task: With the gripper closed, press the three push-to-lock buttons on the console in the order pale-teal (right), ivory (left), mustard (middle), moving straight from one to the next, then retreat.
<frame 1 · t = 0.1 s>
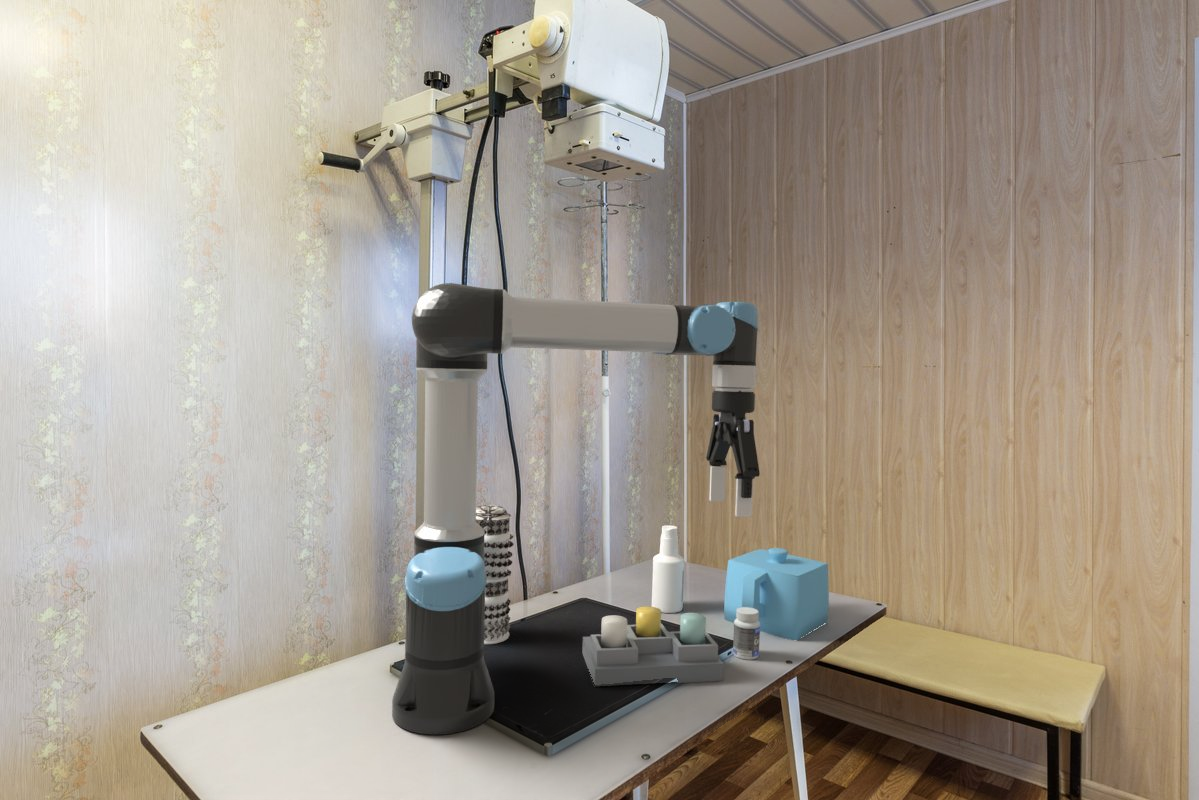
hand: (729, 508, 129), 28 cm above the table, fingers open, 13 cm apart
container: (777, 621, 151), on the table
decorative candle: (487, 636, 138), on the table
button ivory: (614, 631, 123), point 7 cm above the table, slide at 0.0 cm
console: (649, 666, 126), on the table
pill bottle: (745, 656, 132), on the table
button teal: (692, 628, 125), point 7 cm above the table, slide at 0.0 cm
button mustard: (648, 621, 128), point 7 cm above the table, slide at 0.0 cm
spray bottle: (667, 609, 157), on the table
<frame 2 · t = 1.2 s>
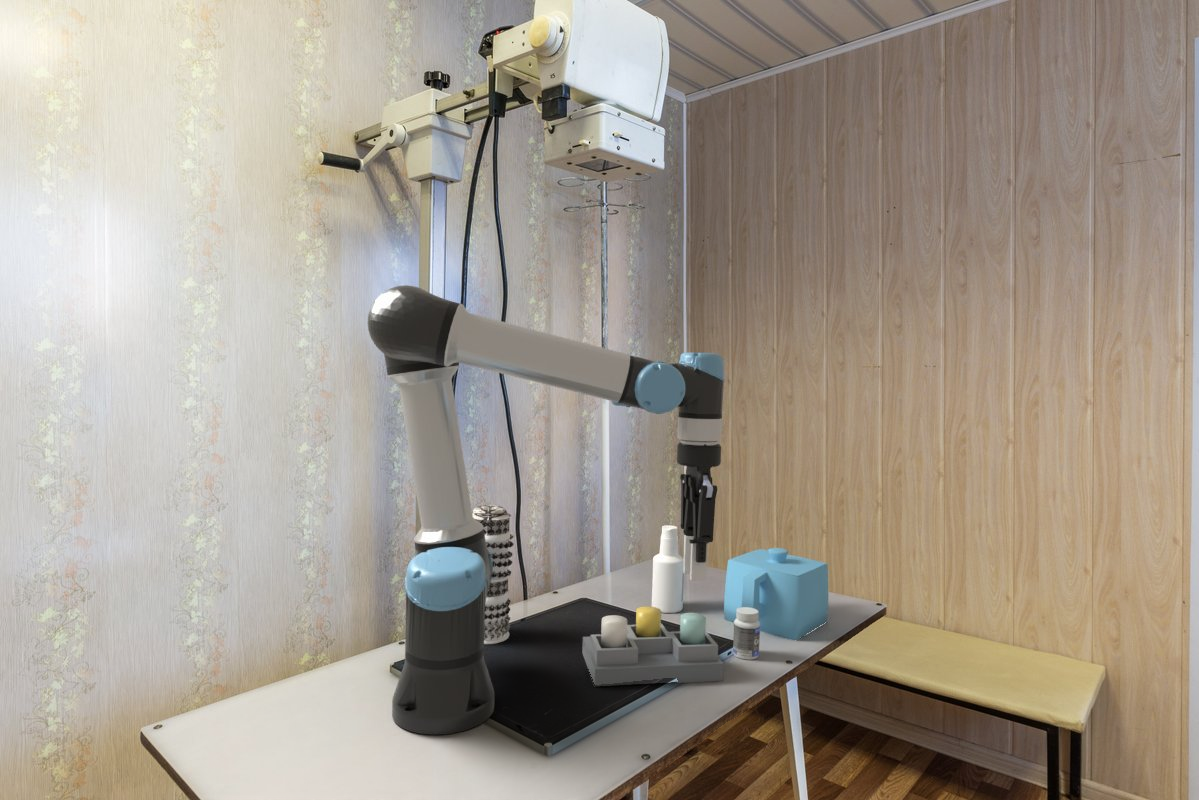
hand: (694, 576, 125), 17 cm above the table, fingers open, 3 cm apart
nothing on the table moved.
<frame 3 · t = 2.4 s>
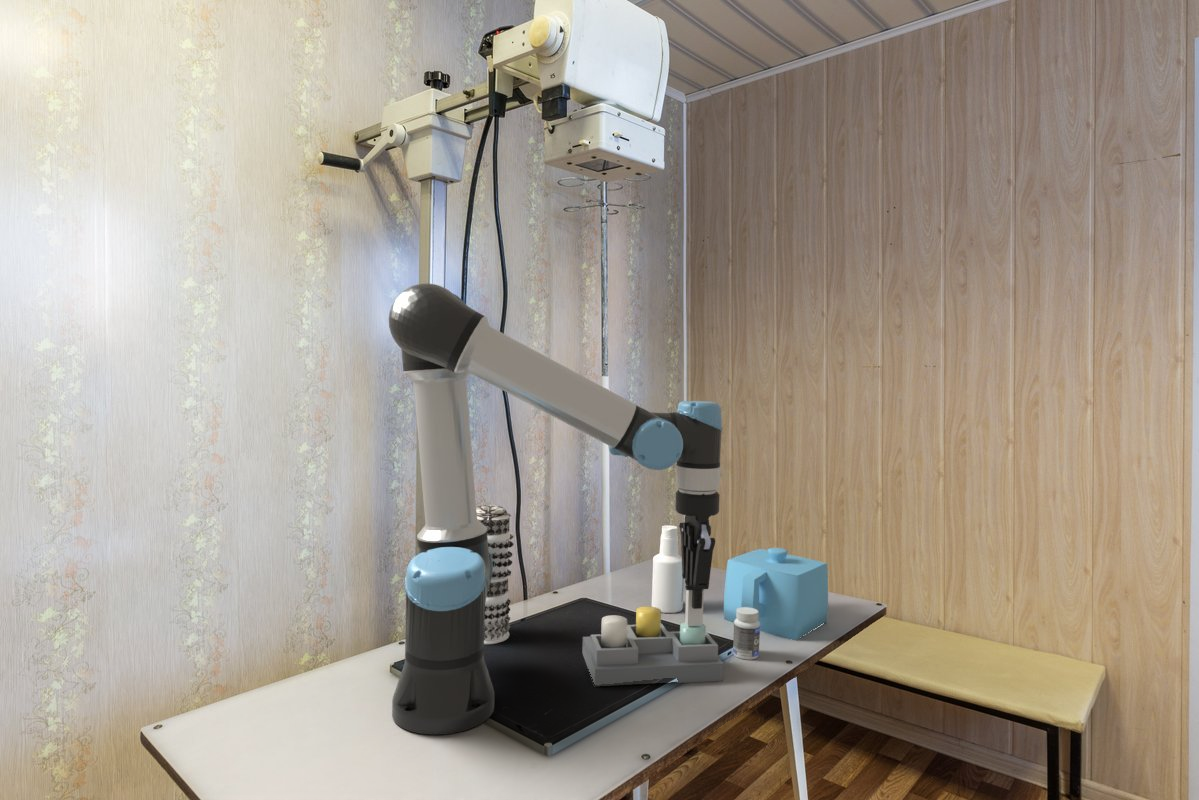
hand: (693, 624, 125), 8 cm above the table, fingers closed
button teal: (692, 637, 125), point 6 cm above the table, slide at 1.5 cm, touching gripper
everything else where it was.
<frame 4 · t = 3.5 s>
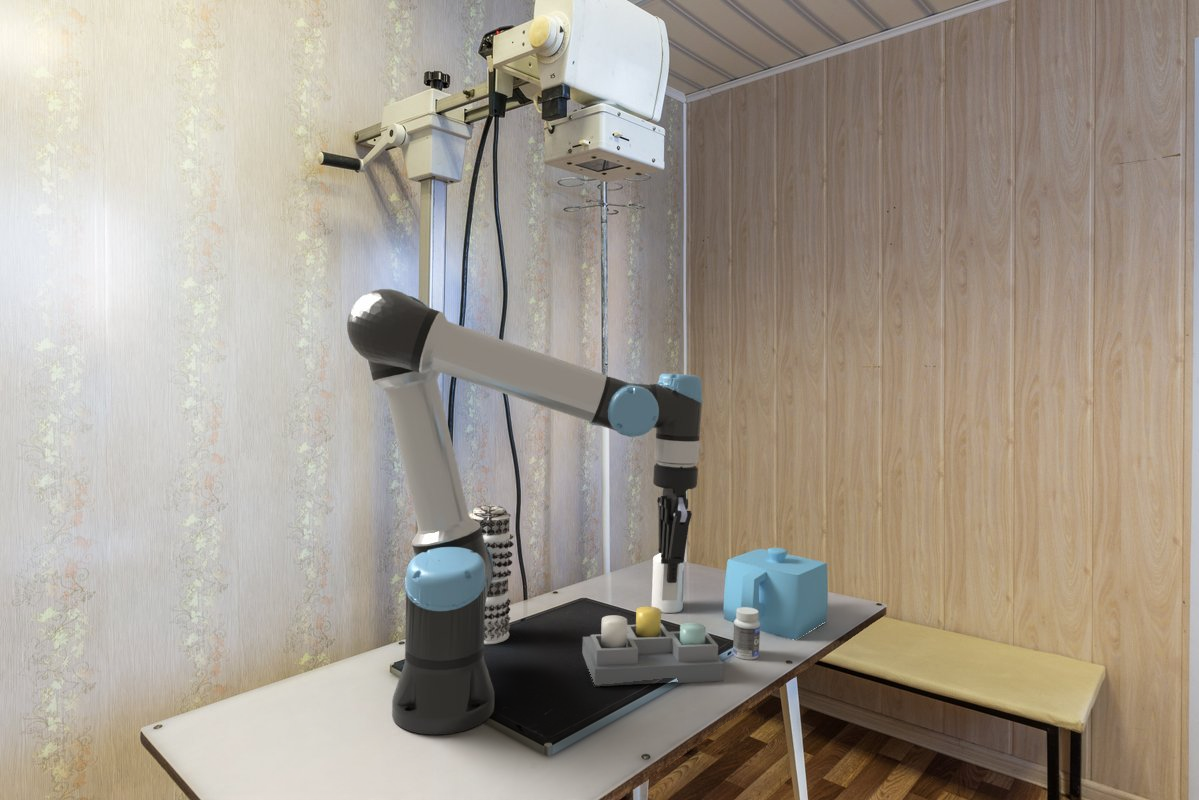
hand: (668, 598, 124), 13 cm above the table, fingers closed
button teal: (692, 638, 125), point 6 cm above the table, slide at 1.8 cm
everything else where it was.
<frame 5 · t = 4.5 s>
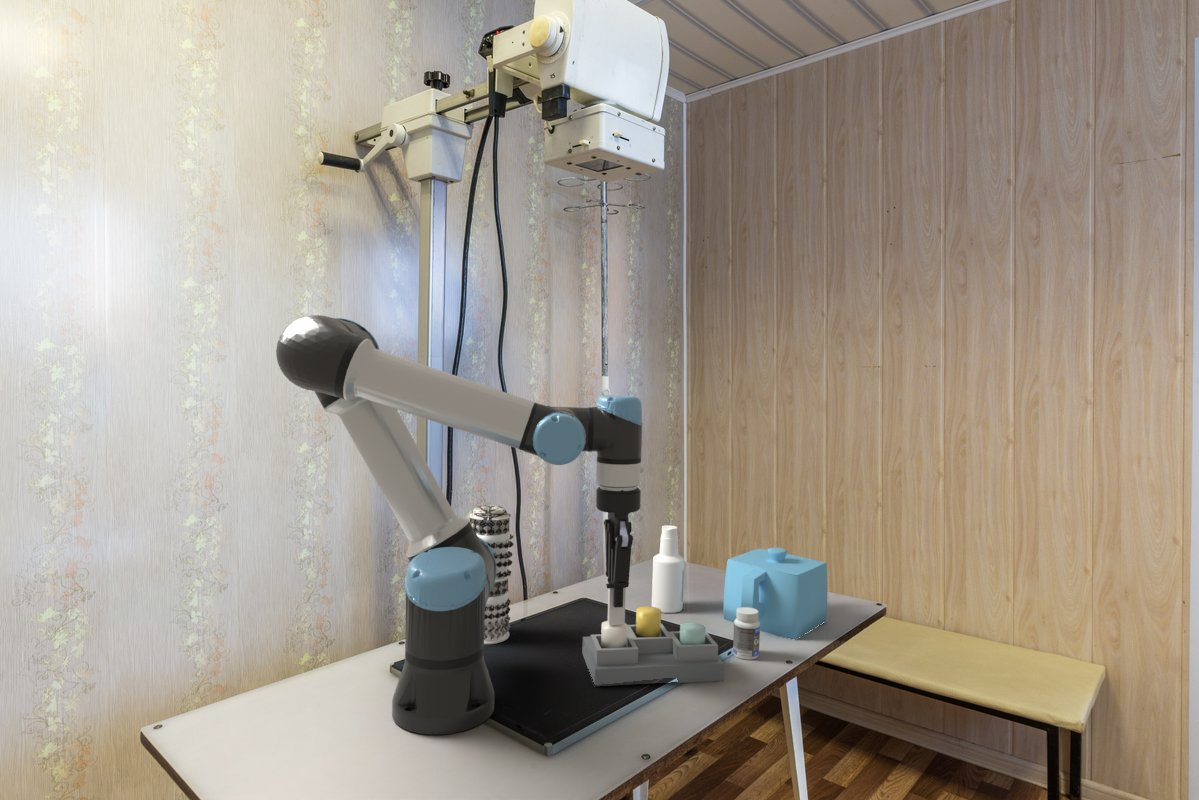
hand: (616, 623, 123), 9 cm above the table, fingers closed
button ivory: (614, 636, 123), point 6 cm above the table, slide at 0.9 cm, touching gripper
everything else where it was.
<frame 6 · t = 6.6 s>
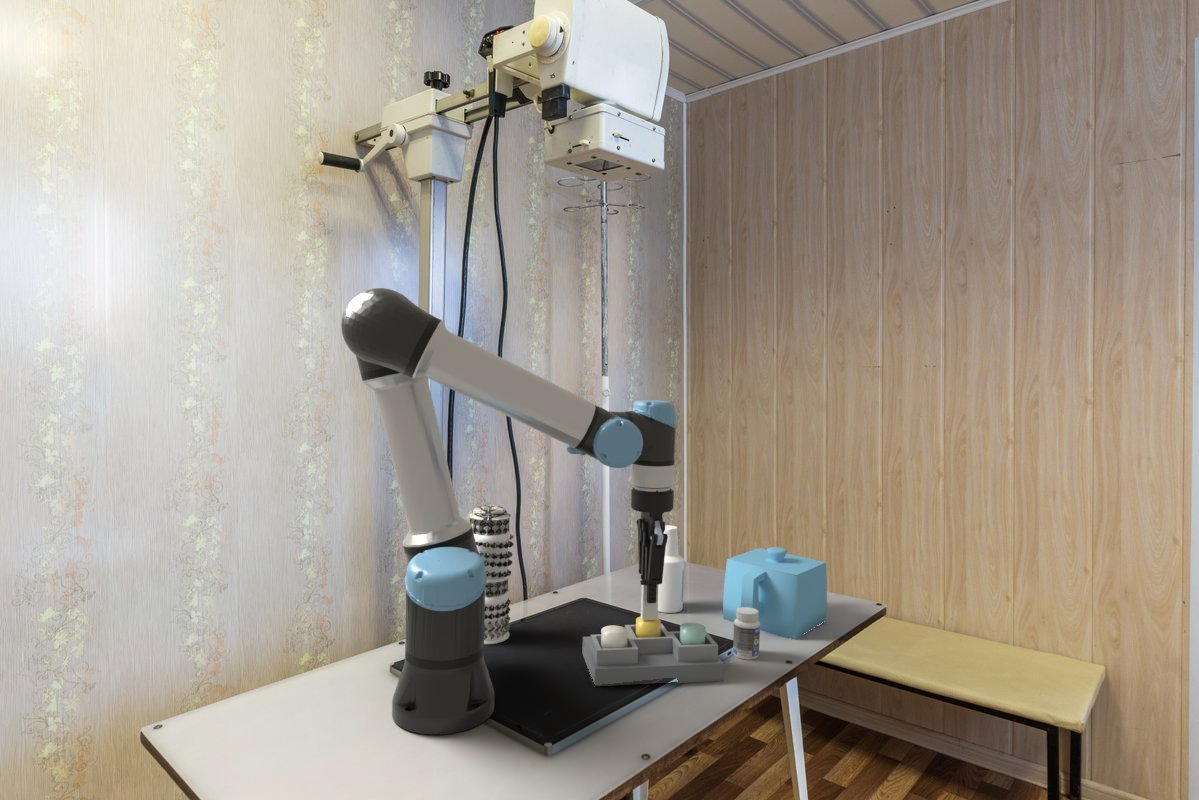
hand: (649, 618, 128), 8 cm above the table, fingers closed
button ivory: (613, 641, 123), point 6 cm above the table, slide at 1.8 cm
button mustard: (648, 631, 128), point 6 cm above the table, slide at 1.7 cm, touching gripper
everything else where it was.
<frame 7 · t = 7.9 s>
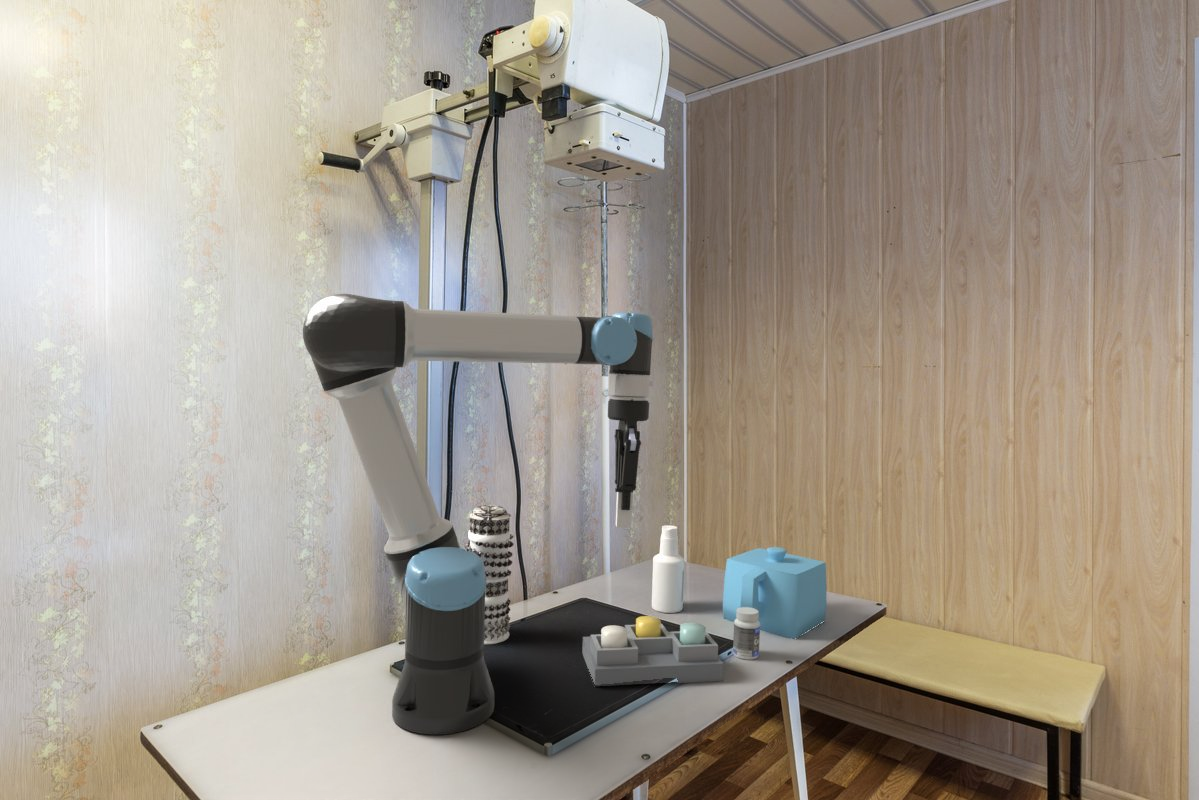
hand: (623, 526, 132), 23 cm above the table, fingers closed
button mustard: (648, 631, 128), point 6 cm above the table, slide at 1.8 cm
everything else where it was.
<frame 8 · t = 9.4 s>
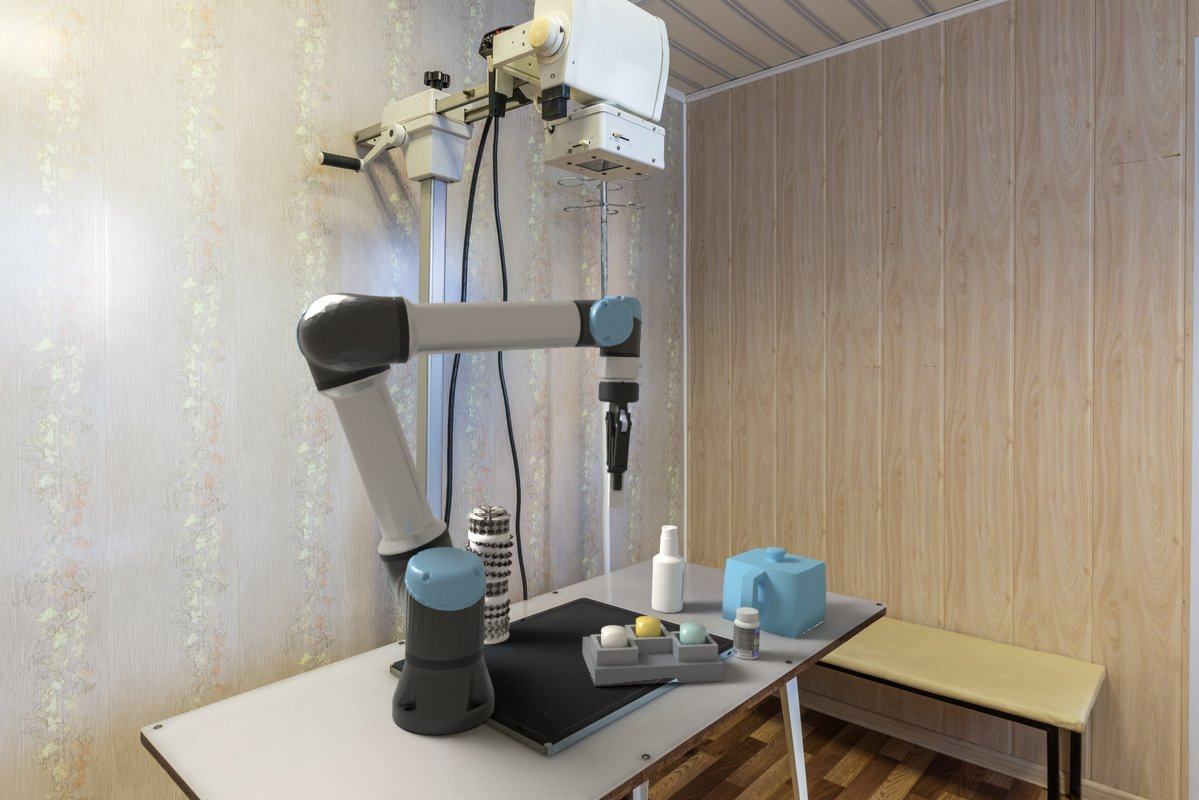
hand: (615, 506, 134), 26 cm above the table, fingers closed
nothing on the table moved.
at the end: button teal slide at 1.8 cm; button ivory slide at 1.8 cm; button mustard slide at 1.8 cm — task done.
